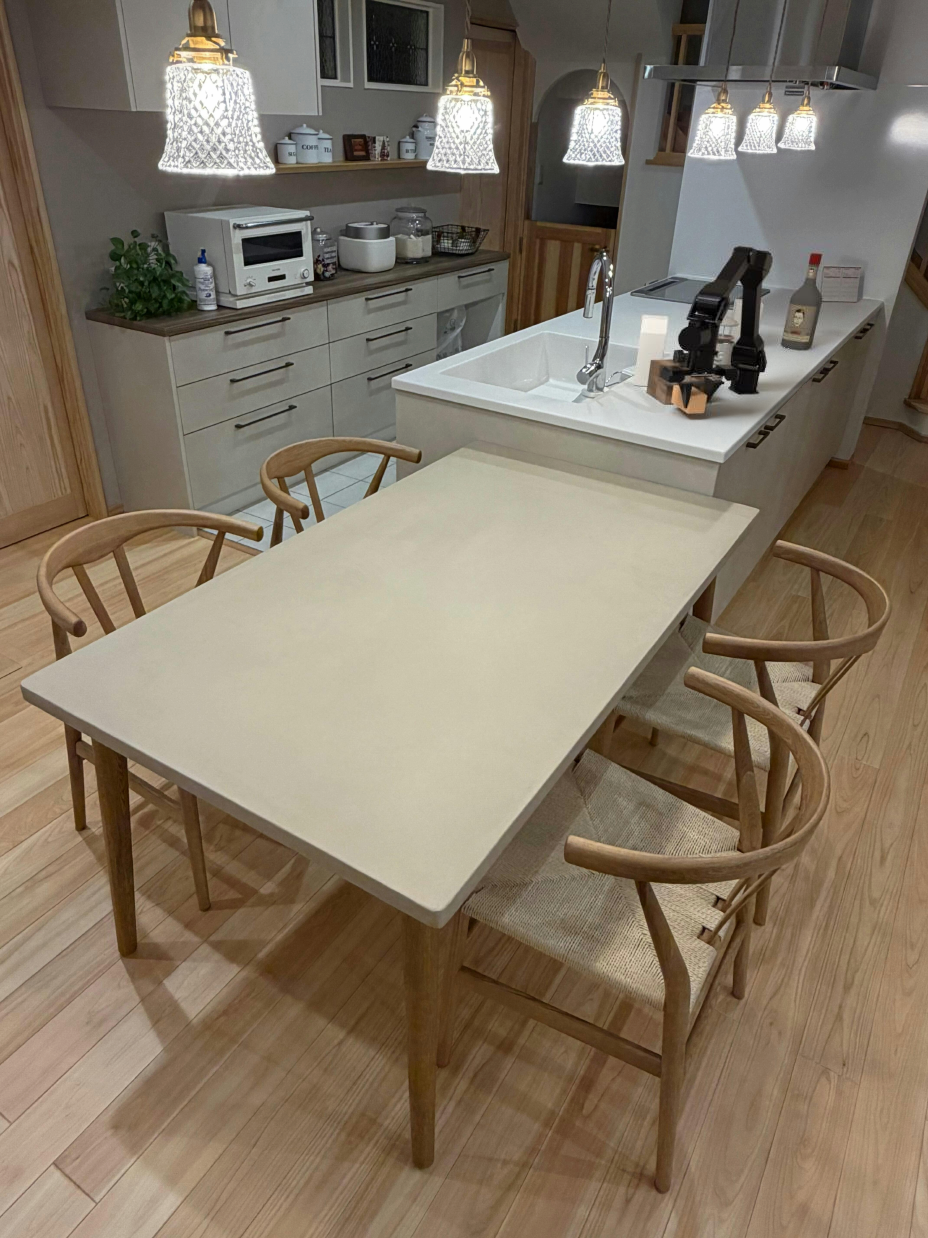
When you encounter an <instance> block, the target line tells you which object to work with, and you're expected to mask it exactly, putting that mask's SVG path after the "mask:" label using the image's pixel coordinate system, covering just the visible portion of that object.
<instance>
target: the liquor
mask: <svg viewBox="0 0 928 1238" xmlns="http://www.w3.org/2000/svg"><path fill="white" fill-rule="evenodd" d="M822 255H823V254H822V253H816V252H812V253H810V257H809V261H808V267H807V270H806V271H807V272H806V275H805V279H804V281H803V285H801V286H800V287H799V288H798V289H797V290H796V291H795V292H794V293H792V295H791V297H790V299H789V305H788V308H787V313H786V319H785V323H784V326H783V332H782V338H781V342H780V345H781V347H782V346H783V347H782V348H784V347H785V348H784V349H788V348H789V350H795V351H796V350H797V351H807V350H809V349H811V347H812V346H813V343H814V342H813V341H814V339H815V334H816V330H817V325H818V321H819V316H820V312H821V308H822V302H823V295H822V293H821V292H820V290H819V288H818V287H817V276H818V272H819V267H820V265H821V260H822V257H823V256H822Z"/></svg>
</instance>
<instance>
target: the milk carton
mask: <svg viewBox="0 0 928 1238" xmlns="http://www.w3.org/2000/svg"><path fill="white" fill-rule="evenodd" d="M668 324H669V316H667V315H655V314H654V315H653V314H642V317H641V325H640V332H639V341H638V348H637V357H636V364H635V372H634V378H633V386H640V387H647V384H648V377H649V370H650V362H651V360H664V354H665V346H666V341H667V340H666V339H667V333H668V332H667V331H668Z"/></svg>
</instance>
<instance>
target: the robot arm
mask: <svg viewBox="0 0 928 1238" xmlns="http://www.w3.org/2000/svg"><path fill="white" fill-rule="evenodd" d="M773 259H774V258H773V256H772V253H771V252H770V251H769V250H760V249H756V248H754V247H753V246H743V245H737V246H735V247H734V248H733V250H732V253H731V256H730V257H729V259H728V261H727V262H726V263H725V265H724V267H722V269H721V271H720V272H719V274H718V275H717V276H716V278H715V279H714V280H713V281H712V282H711V281H710V282H709V283H706V284H705V285H703V287H702V288H701V289H700V290H699V292H697V293H696V295H695V296H694V299H693V301H692V304H691V306H690V309H689V311H688V313H687V316H686V321H688V323H687V326H686V327H683V329H681V330H680V332H679V334H678V336H677V342H678V345H679V347H680V348H681V349H675V350H674V351H673V355H672V359H673V363H679V367H680V368H679V367H678V366H664V367H663V369H662V370H661V374H660V377H661V378H662V379H664V380H666V381H667V382H669V383H678V385H679V387H680V391H681V395H682V401H683V406H684V408H687V407H688V404H689V400H690V395H691V391H692V386H693V383H691V382H690V379H691V377H704V381H705V387H704V392H703V393H704V394H706V395H707V399H706V405H705V407H706V406H707V405H708V404H709V403H708V402H709V400H710V399H711V397H712V398H713V396H714V394H716V392H717V391H718V389H719V388H720V387H721V386H722V385H725V381H724V380H726V381H727V382H730V385H729V386H728V387H727V388H728V389H729V390H730V391H732V392H734V393H736V394H738V395H746V394H747V395H748V394H749V395H750V394H760V391H758V390H757V387H758V384H759V379H760V373H765V372H766V369H767V365H768V360H767V355H766V351H765V341H764V339H763V338H762V336H761V335H760V332H759V330H760V327H759V320H760V306H761V302H762V290H763V282H764V280H765V279H766V278H767V276H768V275H769V274H770V271H771V268H772V266H773ZM739 282H740V284H741V285H742V297H741V299H742V311H741V329H740V338H739V339H738V340H737V342H736V343H735V345H734V346H733V348H732V353H731V363H730V364H731V365H729V364H726V365H716V366H715V367H713V363H714V357H715V356H718V351H717V350H716V346H717V340H718V334H720V328H721V326H720V324H721V323H722V321H723V319H724V317H725V316H726V313H727V314H728V312H727V311H729V309H730V307H731V301H730V299H731V295H730V293H731V294H732V292H733V291H734V289H735V287H736V286H737V284H738V283H739ZM684 351H685V352H684ZM683 367H685V368H689V370H683V369H681V368H683ZM693 373H697V374H693ZM703 373H704V374H703ZM723 379H724V380H723Z"/></svg>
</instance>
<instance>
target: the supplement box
mask: <svg viewBox="0 0 928 1238" xmlns="http://www.w3.org/2000/svg"><path fill="white" fill-rule="evenodd" d="M764 306H765V305H764V303H763V302H762V301H761V306H760V320H759V328H760V325H761V321H762V315H763V312H764V311H763V310H764ZM741 311H742V298H741V299H740V298H735V299H734V303H733V308H732V314H731V318H732V319H734V320H735V321H737V322H738V323H739V325H738V326H735V327H729V329H728V335H732V336H734V337H735V338H734V339H732V341H734V342H735V343H736V342H737V340H738V339H739V338H740V329H741ZM728 344H729V343H728ZM734 345H735V344H734Z"/></svg>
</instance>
